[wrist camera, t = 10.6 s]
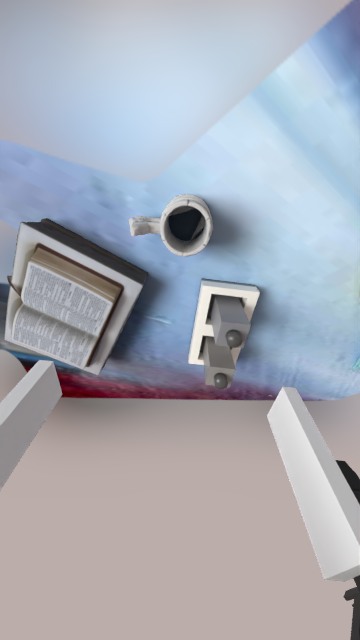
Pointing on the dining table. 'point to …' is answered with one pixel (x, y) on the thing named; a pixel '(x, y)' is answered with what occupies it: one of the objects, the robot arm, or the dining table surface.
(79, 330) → the bible
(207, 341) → the twin plug
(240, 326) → the plug
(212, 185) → the dining table surface
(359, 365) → the ladle
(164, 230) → the mug
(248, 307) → the strip
